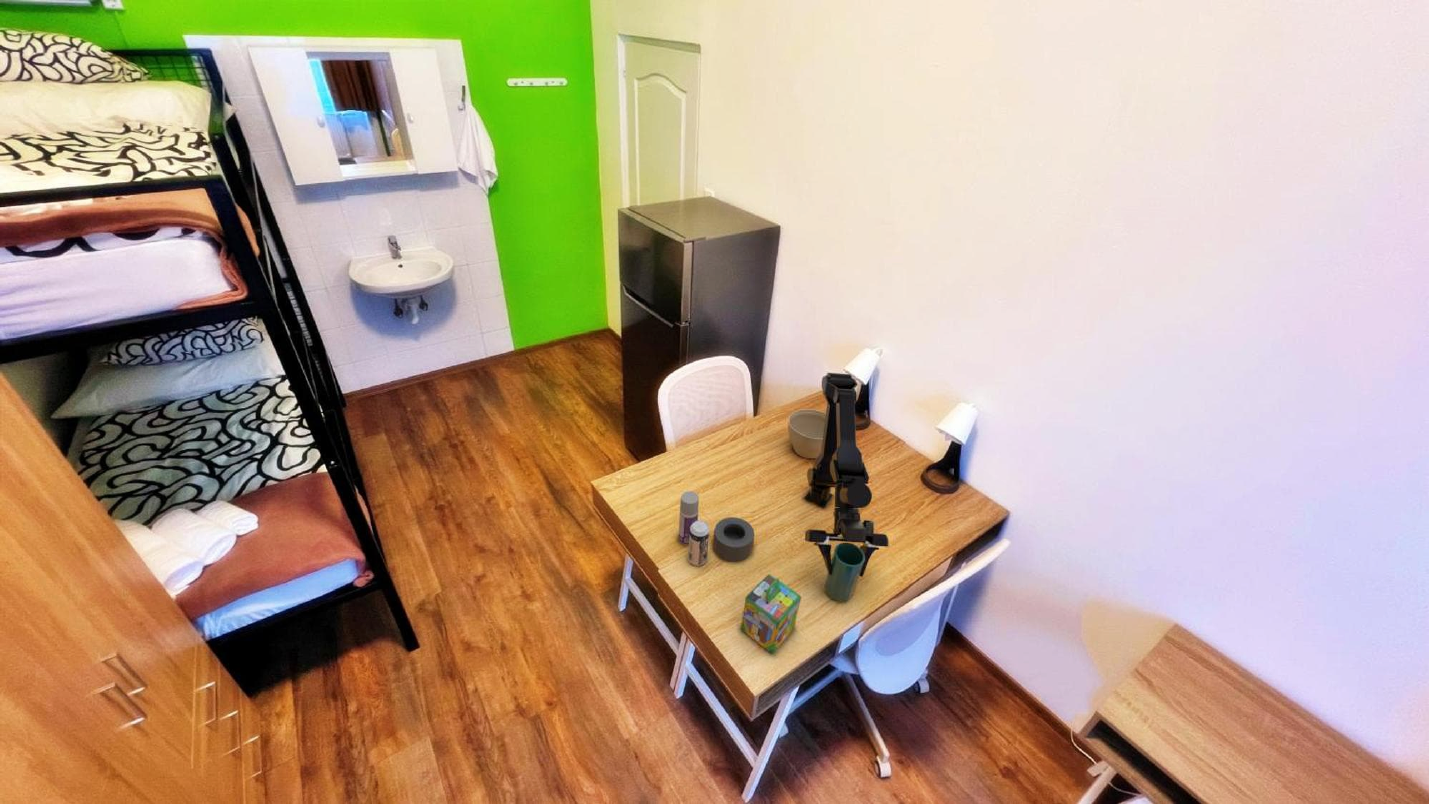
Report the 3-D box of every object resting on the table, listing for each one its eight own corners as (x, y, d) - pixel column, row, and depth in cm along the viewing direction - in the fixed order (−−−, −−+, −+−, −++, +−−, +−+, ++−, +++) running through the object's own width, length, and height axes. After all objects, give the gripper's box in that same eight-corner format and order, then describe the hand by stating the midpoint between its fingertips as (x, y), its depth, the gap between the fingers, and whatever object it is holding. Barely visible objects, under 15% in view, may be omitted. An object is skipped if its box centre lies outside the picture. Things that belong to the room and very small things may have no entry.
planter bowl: (836, 467, 175) (843, 440, 169) (786, 464, 175) (791, 436, 169) (828, 436, 189) (834, 410, 183) (781, 433, 188) (786, 407, 182)
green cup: (831, 572, 139) (841, 538, 132) (857, 585, 136) (869, 551, 129) (819, 591, 134) (829, 556, 127) (847, 606, 131) (858, 571, 124)
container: (698, 535, 148) (702, 493, 139) (692, 547, 144) (695, 506, 136) (682, 530, 149) (684, 488, 140) (675, 542, 145) (677, 500, 137)
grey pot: (726, 526, 151) (727, 511, 148) (758, 543, 147) (761, 528, 144) (705, 549, 144) (706, 534, 141) (739, 568, 140) (741, 553, 137)
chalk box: (772, 655, 121) (781, 613, 112) (739, 629, 125) (745, 587, 117) (795, 627, 127) (806, 586, 118) (763, 603, 131) (771, 562, 123)
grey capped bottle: (704, 568, 139) (707, 535, 132) (686, 564, 139) (688, 531, 133) (708, 554, 143) (711, 521, 136) (690, 550, 143) (692, 517, 137)
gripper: (815, 505, 125) (813, 577, 122) (897, 510, 126) (897, 582, 123) (805, 505, 136) (803, 571, 133) (880, 510, 137) (880, 576, 134)
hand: (845, 575), depth 130 cm, fingers closed on green cup, 7 cm apart
